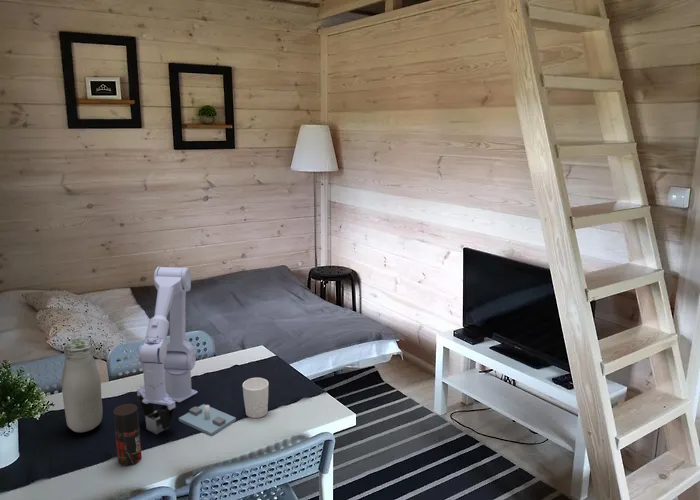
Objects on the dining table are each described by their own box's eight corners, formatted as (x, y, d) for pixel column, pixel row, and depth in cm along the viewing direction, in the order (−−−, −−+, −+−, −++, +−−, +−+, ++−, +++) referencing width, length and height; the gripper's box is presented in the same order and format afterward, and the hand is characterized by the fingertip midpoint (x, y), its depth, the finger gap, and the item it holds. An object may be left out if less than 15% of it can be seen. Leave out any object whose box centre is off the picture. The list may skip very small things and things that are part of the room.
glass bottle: (75, 442, 155) (65, 351, 148) (61, 428, 162) (51, 339, 155) (110, 428, 162) (102, 340, 155) (95, 415, 169) (86, 330, 162)
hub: (146, 429, 162) (145, 415, 161) (159, 422, 166) (158, 409, 165) (156, 434, 160) (155, 420, 159) (169, 427, 164) (168, 413, 163)
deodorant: (122, 452, 151) (117, 403, 147) (144, 452, 152) (140, 403, 148) (114, 466, 145) (110, 415, 142) (138, 465, 146) (133, 415, 142)
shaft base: (178, 421, 167) (177, 406, 166) (203, 406, 175) (203, 392, 174) (211, 436, 160) (210, 420, 158) (236, 420, 168) (235, 405, 167)
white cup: (264, 420, 168) (263, 391, 166) (240, 418, 169) (238, 388, 167) (272, 407, 176) (271, 378, 173) (248, 404, 177) (247, 376, 174)
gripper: (126, 380, 160) (130, 421, 163) (159, 394, 152) (162, 438, 156) (147, 371, 166) (150, 411, 169) (180, 384, 158) (182, 426, 161)
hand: (157, 423), depth 163 cm, fingers open, 7 cm apart
